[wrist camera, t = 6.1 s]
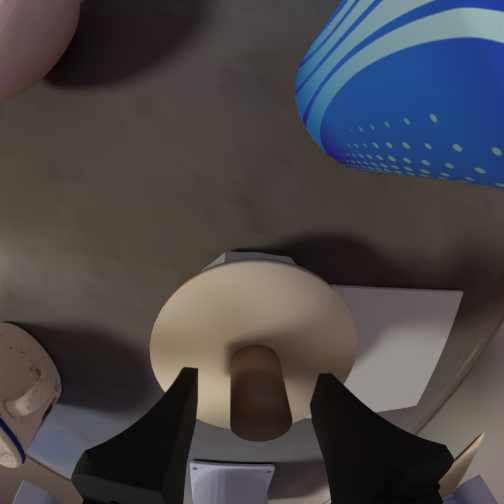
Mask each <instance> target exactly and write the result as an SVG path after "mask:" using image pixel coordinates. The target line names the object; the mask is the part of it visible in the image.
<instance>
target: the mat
mask: <svg viewBox="0 0 504 504" xmlns="http://www.w3.org/2000/svg"><path fill="white" fill-rule="evenodd" d="M331 287H332V288H333V289H334V290H335V291H336V292H337V294H338V295H339V296H340V298H341V299H342V300H343V302H344V303H345V305H346V306H347V308H348V309H349V312H350V314H351V316H352V318H353V321H354V324H355V328H356V334H357V352H356V357H355V361H354V365H353V367H352V370H351V372H350V374H349V376H348V378H347V380H346V382H345V383H344V386H345V387H347V388H348V389H349V390H350V391H351V392H352V393H353V394H354V395H355V396H356V397H357V398H358V399H359V400H360V401H362V402H363V403H364V404H365V405H366V406H367V407H369V408H370V409H371V410H372V411H374V412H380V411H387V410H394V409H400V408H405V407H411V406H416V405H417V403H418V401H419V399H420V397H421V395H422V394H423V392H424V390H425V388H426V386H427V384H428V381H429V379H430V377H431V375H432V373H433V371H434V369H435V366H436V364H437V362H438V360H439V357H440V355H441V353H442V350H443V348H444V346H445V343H446V341H447V338H448V335H449V333H450V330H451V328H452V325H453V322H454V319H455V316H456V314H457V311H458V308H459V305H460V302H461V298H462V295H463V292H462V291H461V290H432V289H408V288H387V287H369V286H351V285H335V284H331ZM305 418H311V415H309V416H307V417H305Z"/></svg>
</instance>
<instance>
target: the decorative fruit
mask: <svg viewBox="0 0 504 504" xmlns="http://www.w3.org/2000/svg"><path fill="white" fill-rule="evenodd" d="M79 14H80V0H0V100H4V99H7V98H10V97H13V96H15V95H18V94H20V93H22V92H24V91H25V90H27V89H29V88H30V87H32V86H33V85H34V84H36V83H37V82H38V81H40V80H41V79H42V78H43V77H44V76H45V75H46V74H47V73H48V72H49V71H50V70H51V69H52V68H53V67H54V65H55V64H56V63H57V62H58V61H59V59H60V58H61V56H62V55H63V54H64V52H65V50H66V49H67V47H68V45H69V43H70V42H71V40H72V38H73V35H74V33H75V30H76V28H77V24H78V20H79Z"/></svg>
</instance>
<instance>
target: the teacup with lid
mask: <svg viewBox="0 0 504 504" xmlns="http://www.w3.org/2000/svg"><path fill="white" fill-rule="evenodd" d="M60 394H61V380H60V376H59V373H58V371H57V368H56V366H55V364H54V362H53V361H52V359H51V358H50V356H49V355H48V353H47V352H46V351H45V349H44V348H43V347H42V346H41V345H40V344H39V342H38V341H37V340H36V339H34V338H33V337H32V336H31V335H30V334H29V333H27V332H26V331H25V330H23V329H21V328H20V327H18V326H16V325H13V324H10V323H0V464H2V465H4V466H7V467H11V468H16V467H19V466H20V465H22V464H23V463H24V462H25V460H26V456H25V454H26V452H27V450H28V448H29V447H30V445H31V443H32V441H33V440H34V438H35V436H36V434H37V433H38V431H39V429H40V428H41V426H42V424H43V423H44V421H45V419H46V418H47V416H48V414H49V413H50V411H51V410H52V408H53V406H54V405H55V403H56V402H57V400H58V398H59V397H60Z"/></svg>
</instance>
